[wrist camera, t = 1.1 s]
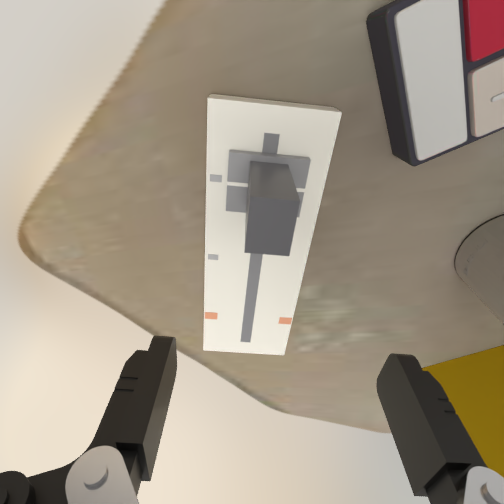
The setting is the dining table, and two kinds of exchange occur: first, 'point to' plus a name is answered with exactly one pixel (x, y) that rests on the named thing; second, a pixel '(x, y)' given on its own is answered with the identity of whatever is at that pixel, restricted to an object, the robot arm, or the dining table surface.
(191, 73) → the dining table surface
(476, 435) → the lunch box
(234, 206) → the fader tab
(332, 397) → the dining table surface
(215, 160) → the fader console
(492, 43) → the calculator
